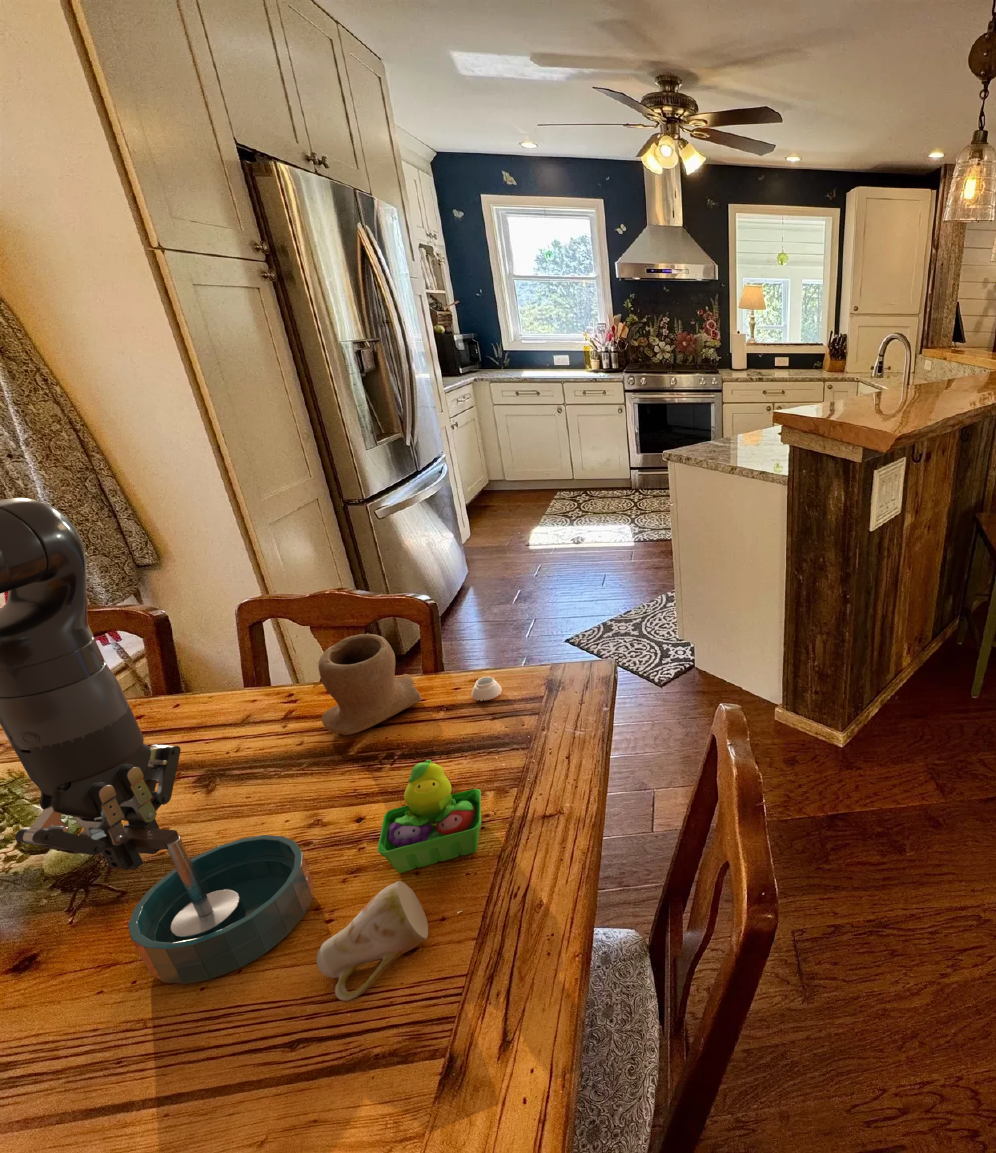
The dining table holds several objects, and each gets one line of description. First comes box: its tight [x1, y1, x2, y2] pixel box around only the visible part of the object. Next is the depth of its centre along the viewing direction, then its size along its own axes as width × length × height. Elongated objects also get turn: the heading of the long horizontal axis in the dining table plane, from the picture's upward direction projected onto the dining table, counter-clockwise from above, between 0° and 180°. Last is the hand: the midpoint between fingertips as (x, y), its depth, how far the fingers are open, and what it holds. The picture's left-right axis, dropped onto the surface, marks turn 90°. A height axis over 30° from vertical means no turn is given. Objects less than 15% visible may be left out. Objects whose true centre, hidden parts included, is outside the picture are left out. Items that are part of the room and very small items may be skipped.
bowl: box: [127, 834, 315, 985], centre depth 68 cm, size 14×14×6 cm
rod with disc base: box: [78, 825, 246, 942], centre depth 64 cm, size 12×6×13 cm, turn 86°
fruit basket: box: [377, 759, 482, 874], centre depth 78 cm, size 11×9×11 cm
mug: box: [316, 880, 429, 1002], centre depth 65 cm, size 8×10×10 cm
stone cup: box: [317, 633, 423, 736], centre depth 103 cm, size 15×12×15 cm
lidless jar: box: [471, 676, 503, 702], centre depth 111 cm, size 5×3×5 cm
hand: (140, 858), depth 63 cm, fingers closed on rod with disc base, 1 cm apart
